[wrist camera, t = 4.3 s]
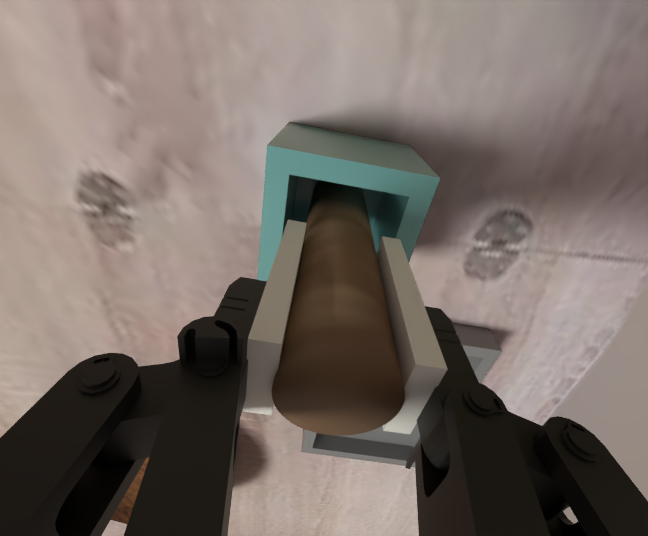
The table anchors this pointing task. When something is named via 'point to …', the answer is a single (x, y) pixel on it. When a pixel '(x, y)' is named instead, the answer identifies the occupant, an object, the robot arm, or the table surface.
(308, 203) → the teal square container
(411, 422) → the robot arm
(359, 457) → the tray
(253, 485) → the table surface
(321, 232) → the dowel
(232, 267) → the table surface
